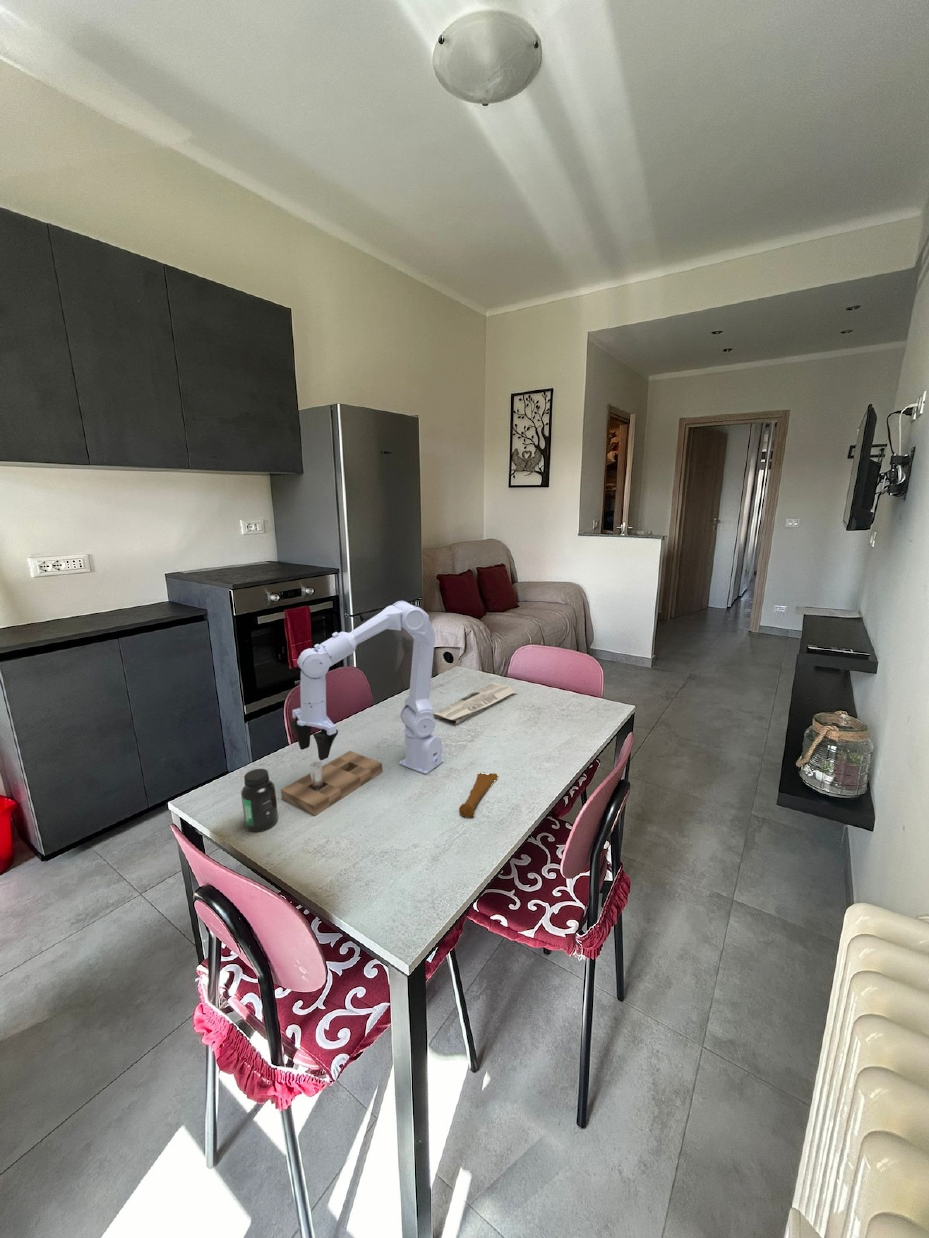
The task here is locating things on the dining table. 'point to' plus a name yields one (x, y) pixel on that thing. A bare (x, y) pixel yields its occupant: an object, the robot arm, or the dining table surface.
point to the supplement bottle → (259, 801)
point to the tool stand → (332, 782)
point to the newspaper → (474, 702)
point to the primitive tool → (477, 793)
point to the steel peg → (316, 776)
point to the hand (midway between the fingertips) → (314, 753)
